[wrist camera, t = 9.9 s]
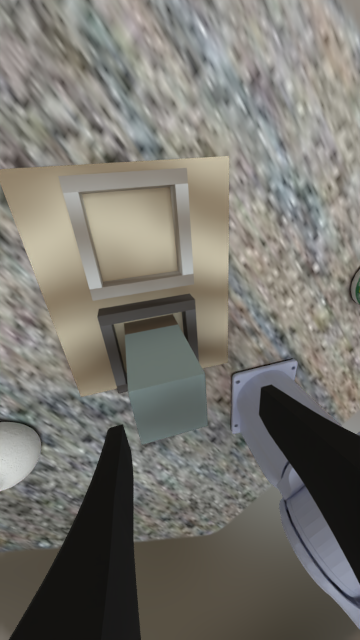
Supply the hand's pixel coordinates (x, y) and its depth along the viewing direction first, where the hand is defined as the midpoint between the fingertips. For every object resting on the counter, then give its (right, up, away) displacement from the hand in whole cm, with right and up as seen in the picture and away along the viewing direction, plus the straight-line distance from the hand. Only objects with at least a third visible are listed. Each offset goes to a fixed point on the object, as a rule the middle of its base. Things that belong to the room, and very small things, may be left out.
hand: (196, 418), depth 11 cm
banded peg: (-3, +3, +8) cm, 9 cm away
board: (-4, +8, +7) cm, 11 cm away
